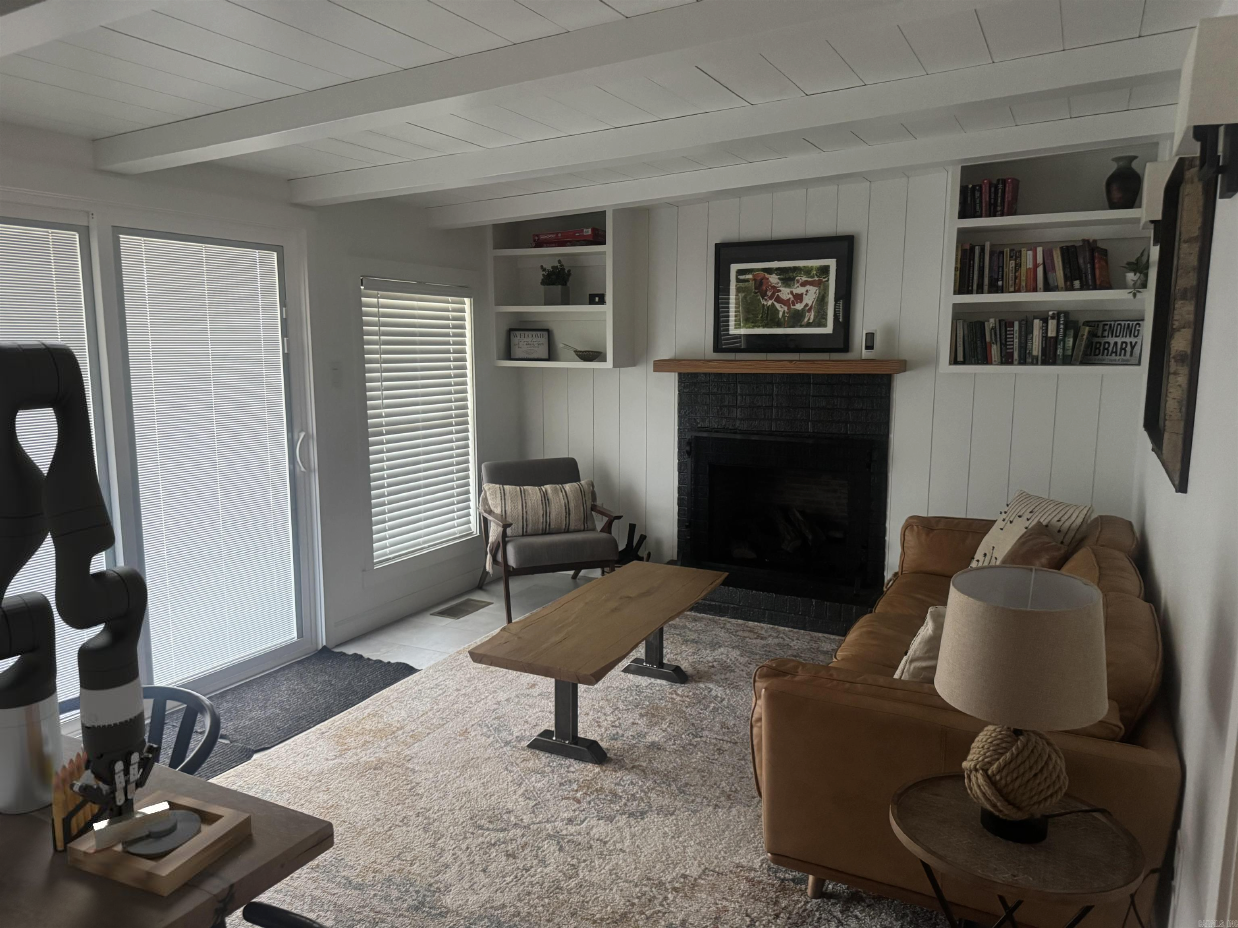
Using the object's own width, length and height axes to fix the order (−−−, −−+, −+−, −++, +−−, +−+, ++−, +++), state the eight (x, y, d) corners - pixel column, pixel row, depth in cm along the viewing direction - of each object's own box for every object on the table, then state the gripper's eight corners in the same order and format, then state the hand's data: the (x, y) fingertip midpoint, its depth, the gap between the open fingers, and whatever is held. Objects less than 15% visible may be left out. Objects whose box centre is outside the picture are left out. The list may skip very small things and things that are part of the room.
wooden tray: (66, 865, 114) (64, 844, 113) (161, 807, 128) (159, 788, 127) (164, 897, 108) (162, 875, 107) (251, 832, 122) (250, 812, 121)
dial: (192, 809, 124) (190, 780, 124) (208, 841, 117) (206, 810, 116) (92, 841, 116) (89, 810, 116) (102, 877, 109) (99, 844, 108)
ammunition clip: (66, 852, 117) (58, 774, 115) (52, 852, 116) (44, 774, 115) (108, 808, 127) (102, 737, 125) (96, 809, 127) (89, 737, 125)
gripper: (134, 686, 121) (142, 794, 124) (46, 726, 108) (58, 844, 111) (173, 695, 118) (181, 804, 121) (87, 736, 106) (98, 857, 109)
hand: (122, 823), depth 116 cm, fingers closed
